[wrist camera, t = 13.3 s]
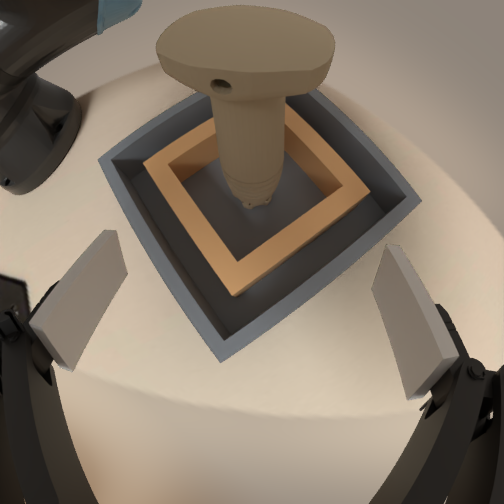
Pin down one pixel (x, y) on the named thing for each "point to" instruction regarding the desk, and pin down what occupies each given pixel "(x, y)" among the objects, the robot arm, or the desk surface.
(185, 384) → the desk surface
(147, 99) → the desk surface
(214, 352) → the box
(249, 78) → the handle
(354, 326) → the desk surface
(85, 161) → the desk surface
